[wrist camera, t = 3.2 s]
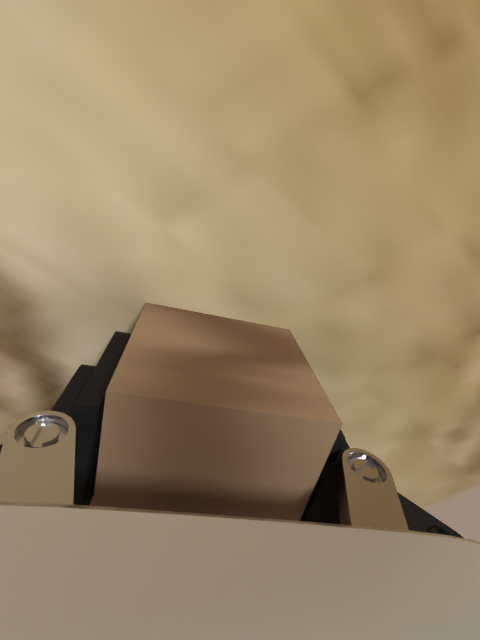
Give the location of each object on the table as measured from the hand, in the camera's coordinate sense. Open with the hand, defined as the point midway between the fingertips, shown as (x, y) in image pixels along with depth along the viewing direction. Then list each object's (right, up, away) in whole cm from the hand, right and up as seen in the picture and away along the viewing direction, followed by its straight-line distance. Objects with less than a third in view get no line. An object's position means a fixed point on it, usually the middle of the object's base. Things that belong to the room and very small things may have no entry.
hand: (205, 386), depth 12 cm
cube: (0, 0, +1) cm, 1 cm away
